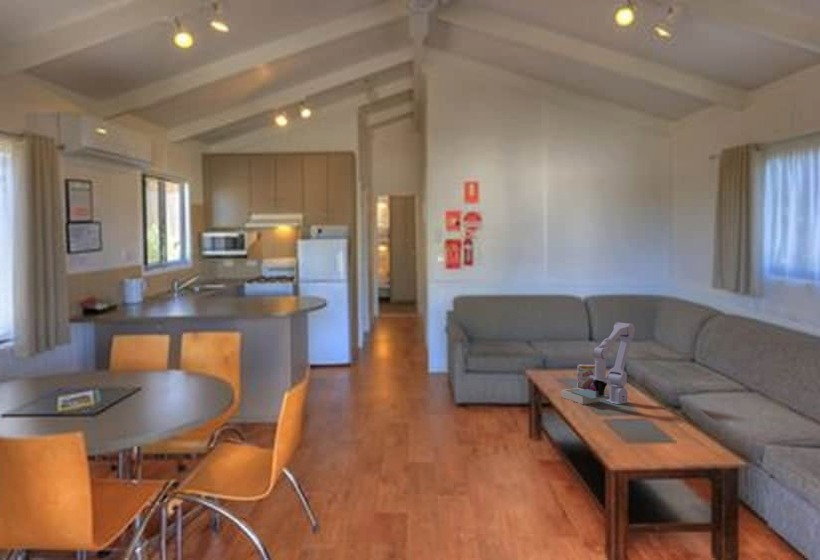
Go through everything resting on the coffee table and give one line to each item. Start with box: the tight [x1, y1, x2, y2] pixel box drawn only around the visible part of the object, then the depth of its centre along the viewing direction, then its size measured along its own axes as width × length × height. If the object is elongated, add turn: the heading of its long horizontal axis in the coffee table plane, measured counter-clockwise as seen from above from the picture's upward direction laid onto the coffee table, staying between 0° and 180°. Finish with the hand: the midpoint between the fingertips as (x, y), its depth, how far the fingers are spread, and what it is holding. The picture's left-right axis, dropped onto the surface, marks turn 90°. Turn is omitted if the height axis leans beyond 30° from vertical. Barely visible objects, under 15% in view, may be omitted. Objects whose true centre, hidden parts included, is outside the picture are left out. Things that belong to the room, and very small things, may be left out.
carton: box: [561, 387, 601, 406], centre depth 383 cm, size 18×12×4 cm, turn 26°
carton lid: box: [571, 389, 610, 399], centre depth 375 cm, size 18×12×4 cm, turn 26°
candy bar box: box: [576, 363, 596, 391], centre depth 400 cm, size 11×5×16 cm, turn 84°
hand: (600, 394), depth 368 cm, fingers closed on carton lid
